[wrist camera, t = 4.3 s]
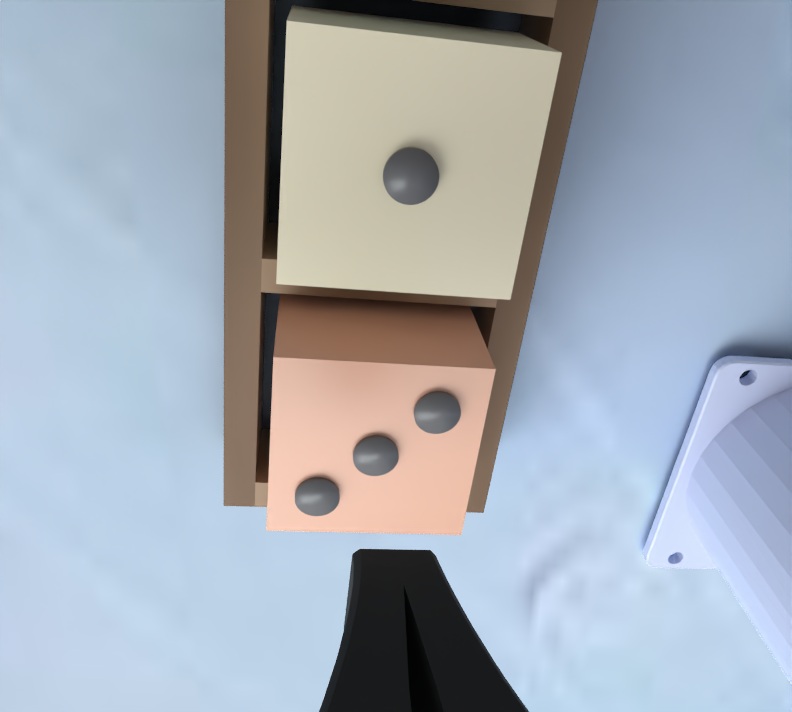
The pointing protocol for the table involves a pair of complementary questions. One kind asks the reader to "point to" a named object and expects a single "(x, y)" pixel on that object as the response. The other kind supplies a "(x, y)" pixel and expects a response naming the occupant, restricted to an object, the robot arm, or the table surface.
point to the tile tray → (256, 275)
